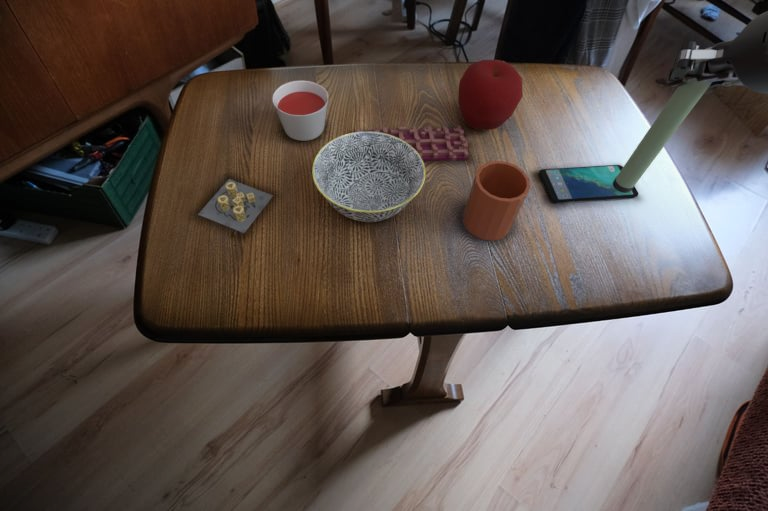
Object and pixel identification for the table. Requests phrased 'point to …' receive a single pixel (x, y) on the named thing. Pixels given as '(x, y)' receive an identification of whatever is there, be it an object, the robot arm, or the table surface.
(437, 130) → the chocolate bar
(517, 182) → the pen cup
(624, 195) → the smartphone
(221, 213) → the gold tube cluster
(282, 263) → the table surface
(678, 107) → the green long cylinder
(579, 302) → the table surface
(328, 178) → the bowl
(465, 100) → the apple
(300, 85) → the candle
